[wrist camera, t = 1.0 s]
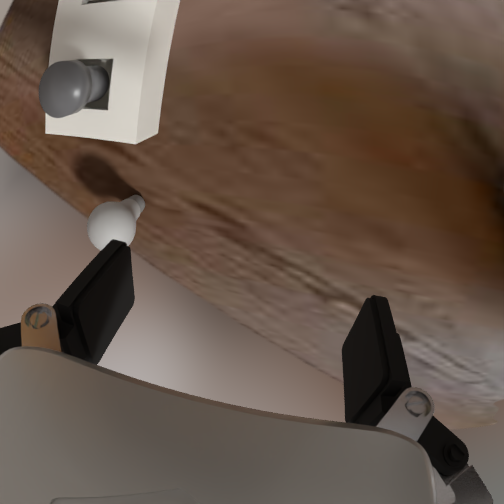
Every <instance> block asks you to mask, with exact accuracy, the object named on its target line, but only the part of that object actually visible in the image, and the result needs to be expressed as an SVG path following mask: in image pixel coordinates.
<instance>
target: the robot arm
mask: <svg viewBox="0 0 504 504" xmlns="http://www.w3.org/2000/svg"><path fill="white" fill-rule="evenodd" d="M134 299H135V296H134V286H133V276H132V264H131V250H130V247H128V246H127V244H126V242H123V241H119V240H115V239H112V240H111V241H110V242H109V243H108V244H107V245H106V246H105V247H104V248H103V249H102V250H101V251H100V252H99V254H98V255H97V256H96V257H95V258H94V259H93V260H92V261H91V262H90V263H89V265H88V266H87V267H86V268H85V269H84V270H83V271H82V272H81V273H80V275H79V276H78V277H77V278H76V279H75V280H74V281H73V283H72V284H71V285H70V286H69V288H67V290H66V291H65V292H64V293H63V294H62V296H61V297H60V298H59V299H58V300H57V302H56V303H55V304H54V305H53V307H52V306H50V305H48V304H43V303H42V304H35V305H33V306H31V307H29V308H28V309H27V310H26V311H25V312H24V313H23V315H22V318H21V323H17V324H13V325H10V326H7V327H3V328H0V504H493V499H492V496H491V494H490V493H489V491H488V490H487V488H486V486H485V484H484V483H483V481H482V480H481V478H480V477H479V475H478V473H477V472H476V470H475V469H474V467H473V465H471V466H469V465H468V464H467V462H468V457H469V454H468V450H467V447H466V445H465V444H464V443H463V442H462V441H461V440H460V439H459V438H458V437H457V436H455V435H454V434H453V433H452V432H451V431H450V430H449V429H448V428H446V427H445V426H444V425H443V424H442V423H441V422H440V421H438V420H437V419H436V418H435V417H434V416H433V413H434V402H433V400H432V398H431V396H430V395H429V394H428V393H427V392H426V391H424V390H422V389H420V388H417V387H411V382H410V377H409V373H408V368H407V364H406V360H405V355H404V351H403V347H402V343H401V339H400V336H399V334H398V333H396V329H395V325H394V321H393V317H392V314H391V310H390V306H389V303H388V300H387V298H386V297H381V296H376V295H372V296H371V298H367V299H366V300H365V302H364V304H363V306H362V308H361V310H360V312H359V314H358V316H357V318H356V320H355V322H354V324H353V326H352V328H351V330H350V332H349V334H348V336H347V338H346V340H345V342H344V344H343V347H342V362H343V378H344V397H345V399H344V400H345V421H346V423H344V422H335V421H327V420H319V419H312V418H304V417H297V416H291V415H284V414H278V413H272V412H267V411H261V410H256V409H251V408H246V407H241V406H236V405H231V404H226V403H222V402H218V401H213V400H210V399H205V398H201V397H198V396H194V395H189V394H186V393H182V392H179V391H175V390H172V389H168V388H165V387H161V386H158V385H155V384H151V383H148V382H145V381H142V380H138V379H136V378H132V377H130V376H127V375H124V374H121V373H118V372H115V371H112V370H109V369H107V368H104V367H101V366H98V365H97V364H98V363H99V361H100V360H101V358H102V356H103V354H104V353H105V351H106V349H107V347H108V346H109V344H110V342H111V341H112V339H113V337H114V336H115V334H116V332H117V330H118V329H119V327H120V326H121V324H122V322H123V321H124V319H125V318H126V316H127V314H128V313H129V311H130V309H131V308H132V306H133V304H134Z"/></svg>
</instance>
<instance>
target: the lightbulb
mask: <svg viewBox="0 0 504 504" xmlns="http://www.w3.org/2000/svg"><path fill="white" fill-rule="evenodd" d="M144 207H145V202H144V200H143V198H142V197H141V196H139V195H133V196H131V197H130V198H128V199H124V200H123V201H121V202H106V203H103V204H100V205H99V206H97V207H96V208H95V209H94V210H93V212H92V213H91V215H90V217H89V219H88V223H87V231H88V236H89V238H90V241H91V242H92V243H93V245H94V246H95V247H96V248H98V249H99V250H102V249H103V248H104V247H105V246H106V245H107V244H108V243H109V242H110V241H111V240H112V239H115V240H119V241H123V242H126V244H127V246H128V245H129V244H130V243H131V242H132V240H133V238H134V235H135V231H136V220H137V219H138V217H139V216H140V213H141V212H142V210H143V209H144Z"/></svg>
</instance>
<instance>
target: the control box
mask: <svg viewBox="0 0 504 504" xmlns="http://www.w3.org/2000/svg"><path fill="white" fill-rule="evenodd" d="M179 3H180V0H59V2H58V7H57V12H56V18H55V23H54V29H53V36H52V42H51V50H50V58H49V66H50V65H52V64H53V63H55V62H58V61H68V60H77V61H80V62H82V63H84V64H85V65H86V66H93V65H98V66H101V67H103V68H104V69H105V70H106V71H107V73H108V75H109V87H108V90H107V92H106V94H105V95H104V96H103V97H102V98H101V99H99V100H97V101H93V102H89V103H87V104H86V105H85V107H84V108H83V109H82V110H80V111H79V112H77V113H75V114H72V115H69V116H65V117H62V118H54V117H51V116H49V115H48V114H47V113H46V134H58V135H68V136H77V137H86V138H94V139H102V140H110V141H117V142H124V143H131V144H137V143H139V142H141V141H143V140H145V139H147V138H149V137H151V136H153V135H155V134H157V133H158V128H159V119H160V111H161V103H162V96H163V89H164V82H165V76H166V69H167V63H168V58H169V52H170V46H171V41H172V36H173V31H174V26H175V21H176V16H177V12H178V7H179Z"/></svg>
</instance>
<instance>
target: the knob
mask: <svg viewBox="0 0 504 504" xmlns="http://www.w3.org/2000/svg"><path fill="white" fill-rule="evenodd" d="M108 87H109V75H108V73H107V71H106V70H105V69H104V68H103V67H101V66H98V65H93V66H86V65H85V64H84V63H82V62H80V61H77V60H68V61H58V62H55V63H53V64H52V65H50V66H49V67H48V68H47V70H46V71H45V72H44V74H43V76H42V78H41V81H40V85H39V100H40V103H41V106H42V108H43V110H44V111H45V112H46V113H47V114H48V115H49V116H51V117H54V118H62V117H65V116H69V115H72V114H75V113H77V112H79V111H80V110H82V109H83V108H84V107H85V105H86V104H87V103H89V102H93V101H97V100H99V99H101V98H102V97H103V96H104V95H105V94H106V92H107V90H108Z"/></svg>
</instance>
